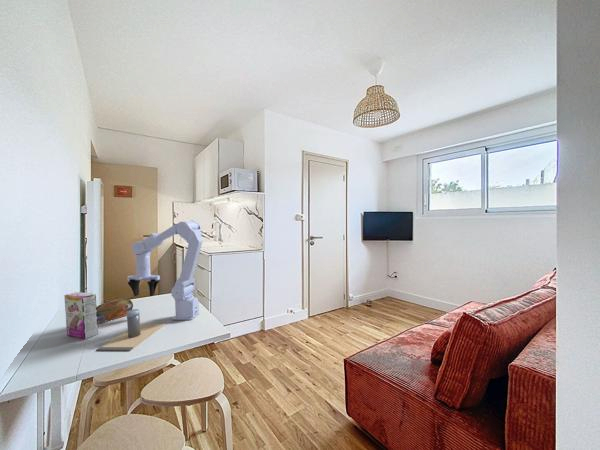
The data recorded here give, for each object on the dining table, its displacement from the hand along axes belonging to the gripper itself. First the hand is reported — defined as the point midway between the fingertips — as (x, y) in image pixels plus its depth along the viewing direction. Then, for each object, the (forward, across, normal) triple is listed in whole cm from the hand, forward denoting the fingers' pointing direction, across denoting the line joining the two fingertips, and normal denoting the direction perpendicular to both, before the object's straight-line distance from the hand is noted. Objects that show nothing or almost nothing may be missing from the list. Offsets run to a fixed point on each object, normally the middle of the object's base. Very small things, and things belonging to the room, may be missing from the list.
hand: (144, 295), depth 118 cm
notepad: (+9, +10, -21) cm, 25 cm away
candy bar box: (+10, -12, -20) cm, 25 cm away
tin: (+10, -12, -4) cm, 16 cm away
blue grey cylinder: (+9, +10, -21) cm, 25 cm away
